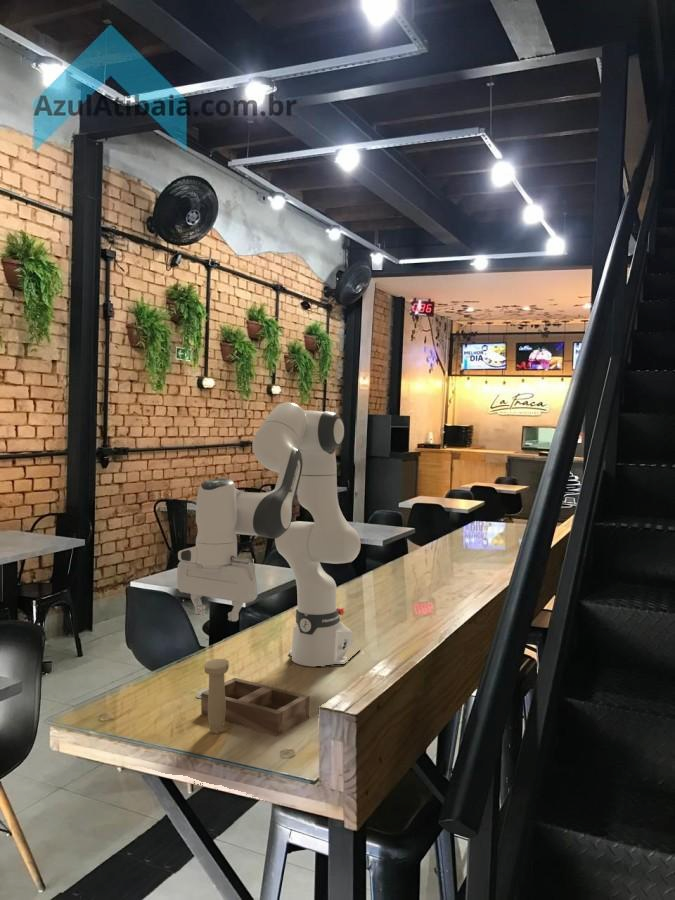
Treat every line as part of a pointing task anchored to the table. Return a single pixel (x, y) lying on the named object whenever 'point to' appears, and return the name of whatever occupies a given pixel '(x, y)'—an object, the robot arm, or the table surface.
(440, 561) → the table surface
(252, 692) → the divided box
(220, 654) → the table surface
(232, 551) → the robot arm
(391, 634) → the table surface
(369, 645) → the table surface
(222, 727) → the handle
